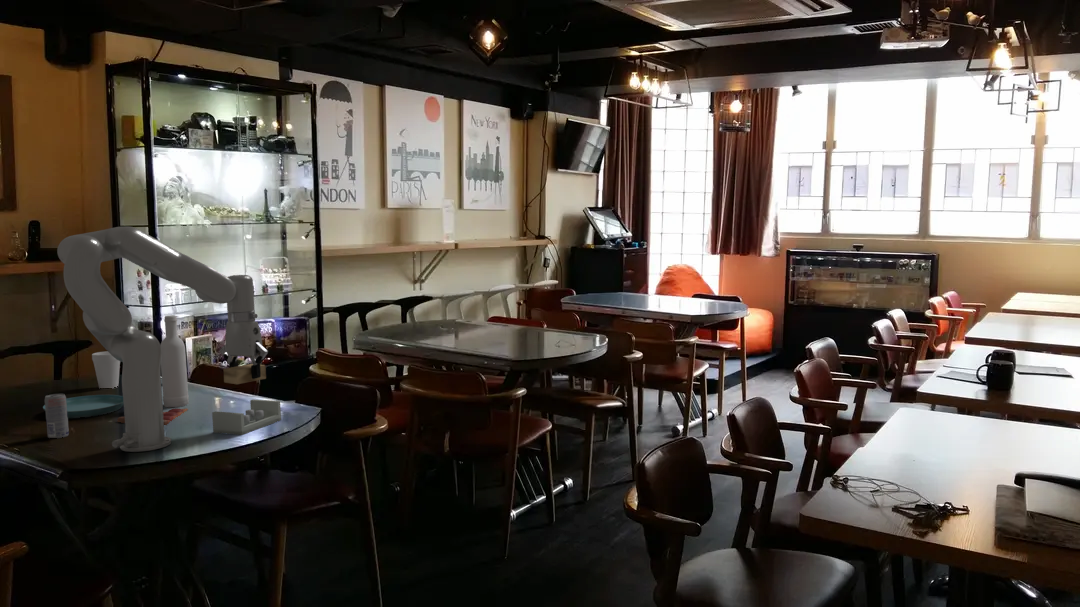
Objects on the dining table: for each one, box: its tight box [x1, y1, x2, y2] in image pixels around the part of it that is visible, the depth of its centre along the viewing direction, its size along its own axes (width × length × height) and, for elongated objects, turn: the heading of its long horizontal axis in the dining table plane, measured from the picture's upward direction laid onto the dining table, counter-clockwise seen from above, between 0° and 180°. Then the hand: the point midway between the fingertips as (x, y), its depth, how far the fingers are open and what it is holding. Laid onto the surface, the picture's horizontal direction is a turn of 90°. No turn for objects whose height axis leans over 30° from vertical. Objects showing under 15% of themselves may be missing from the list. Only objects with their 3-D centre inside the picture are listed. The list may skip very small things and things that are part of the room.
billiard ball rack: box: [116, 407, 189, 426], centre depth 268 cm, size 18×2×20 cm
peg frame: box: [211, 398, 282, 436], centre depth 252 cm, size 18×10×6 cm, turn 161°
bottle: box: [160, 314, 190, 408], centre depth 283 cm, size 8×8×30 cm
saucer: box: [42, 394, 124, 419], centre depth 278 cm, size 24×24×3 cm
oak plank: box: [223, 363, 267, 385], centre depth 250 cm, size 10×6×4 cm, turn 144°
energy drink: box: [44, 393, 70, 439], centre depth 245 cm, size 5×5×12 cm
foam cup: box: [91, 350, 121, 389], centre depth 318 cm, size 10×9×13 cm
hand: (245, 377), depth 250 cm, fingers closed on oak plank, 7 cm apart
